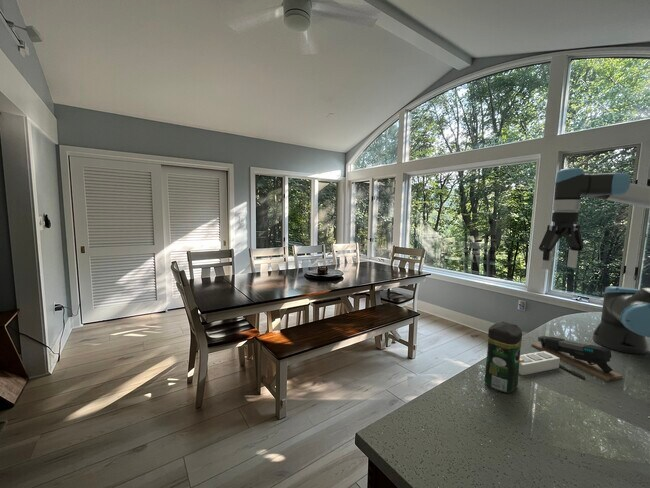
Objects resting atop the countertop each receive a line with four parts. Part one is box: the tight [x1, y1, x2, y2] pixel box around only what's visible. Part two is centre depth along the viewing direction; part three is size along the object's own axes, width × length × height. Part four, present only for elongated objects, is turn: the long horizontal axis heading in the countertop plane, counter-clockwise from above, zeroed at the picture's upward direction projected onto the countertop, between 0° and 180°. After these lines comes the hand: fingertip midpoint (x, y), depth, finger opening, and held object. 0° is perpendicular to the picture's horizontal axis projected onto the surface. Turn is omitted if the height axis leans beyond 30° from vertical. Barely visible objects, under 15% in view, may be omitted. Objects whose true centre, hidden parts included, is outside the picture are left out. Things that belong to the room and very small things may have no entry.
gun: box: [537, 335, 614, 373], centre depth 100 cm, size 4×20×10 cm, turn 22°
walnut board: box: [531, 342, 623, 382], centre depth 101 cm, size 7×24×1 cm, turn 17°
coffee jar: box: [483, 321, 523, 394], centre depth 85 cm, size 10×8×19 cm
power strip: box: [518, 350, 586, 380], centre depth 92 cm, size 18×12×4 cm, turn 107°
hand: (559, 268), depth 109 cm, fingers open, 13 cm apart
